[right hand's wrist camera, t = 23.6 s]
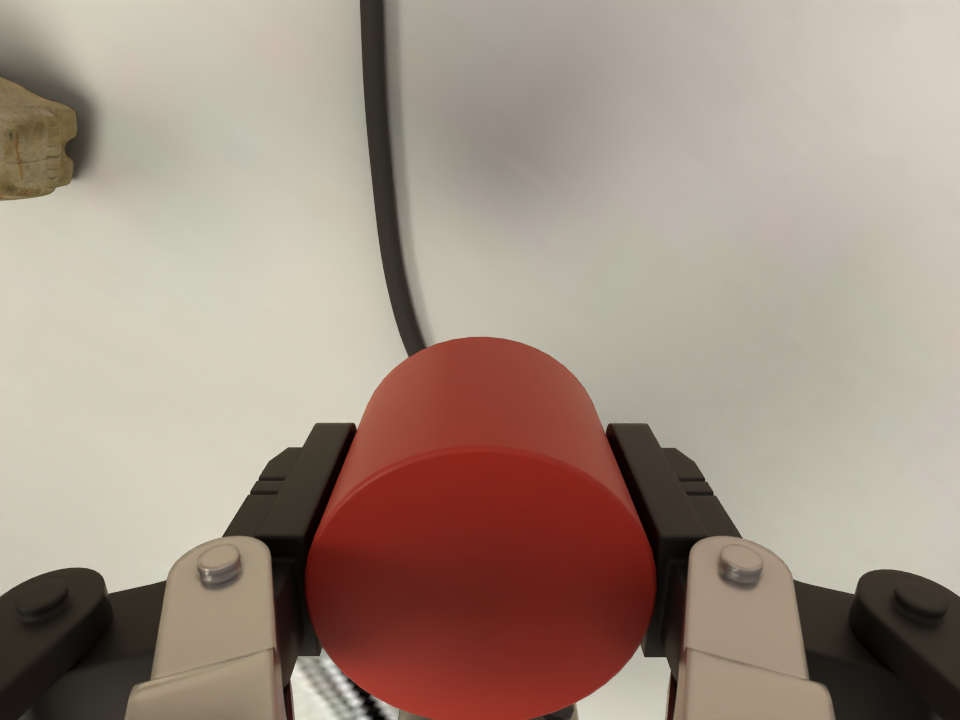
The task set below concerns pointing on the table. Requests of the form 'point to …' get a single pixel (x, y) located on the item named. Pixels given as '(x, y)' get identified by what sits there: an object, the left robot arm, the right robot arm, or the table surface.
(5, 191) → the sculpture
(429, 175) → the table surface
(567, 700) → the can
